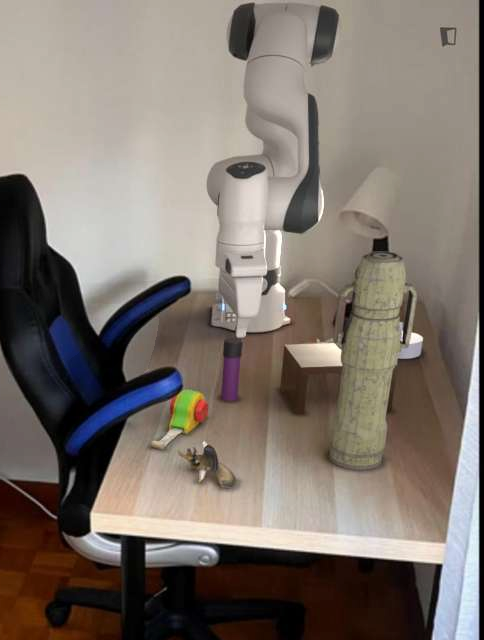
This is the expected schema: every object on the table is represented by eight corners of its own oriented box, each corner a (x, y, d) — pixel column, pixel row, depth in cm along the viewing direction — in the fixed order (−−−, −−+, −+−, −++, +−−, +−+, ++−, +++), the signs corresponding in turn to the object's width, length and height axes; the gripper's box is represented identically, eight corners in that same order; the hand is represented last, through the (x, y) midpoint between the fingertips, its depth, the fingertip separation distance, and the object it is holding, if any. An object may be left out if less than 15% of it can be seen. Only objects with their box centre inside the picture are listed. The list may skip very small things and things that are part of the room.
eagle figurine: (170, 474, 161) (212, 481, 155) (181, 432, 162) (225, 439, 155) (197, 485, 166) (239, 493, 160) (208, 445, 167) (251, 451, 160)
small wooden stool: (280, 389, 196) (284, 344, 192) (369, 386, 196) (375, 341, 192) (296, 414, 185) (301, 367, 180) (391, 411, 185) (398, 364, 180)
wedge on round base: (356, 354, 213) (419, 360, 209) (360, 324, 210) (424, 330, 205) (360, 341, 220) (421, 347, 216) (364, 313, 217) (426, 317, 213)
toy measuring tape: (217, 416, 185) (219, 384, 182) (171, 453, 171) (173, 419, 168) (186, 410, 188) (188, 378, 185) (139, 446, 174) (140, 412, 171)
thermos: (312, 449, 171) (335, 249, 155) (379, 446, 171) (409, 246, 155) (328, 471, 163) (354, 263, 147) (398, 468, 163) (431, 260, 147)
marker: (218, 395, 194) (222, 338, 189) (236, 395, 194) (240, 337, 189) (222, 402, 191) (225, 343, 186) (239, 401, 191) (244, 343, 186)
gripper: (212, 244, 189) (209, 313, 195) (233, 270, 171) (228, 345, 177) (245, 243, 189) (240, 312, 195) (269, 268, 171) (263, 344, 177)
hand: (235, 328), depth 186 cm, fingers open, 8 cm apart
